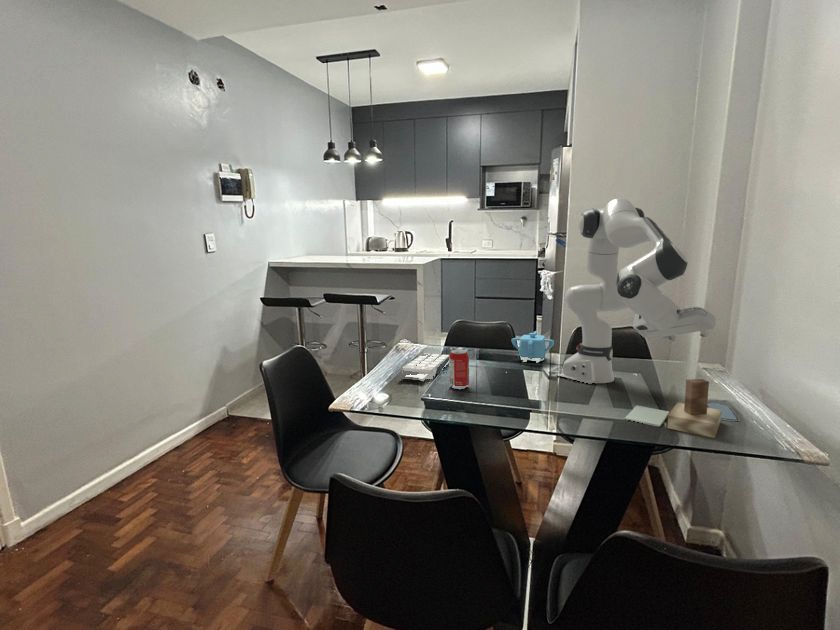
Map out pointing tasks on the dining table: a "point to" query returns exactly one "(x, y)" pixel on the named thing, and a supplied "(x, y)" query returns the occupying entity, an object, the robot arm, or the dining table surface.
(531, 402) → the dining table surface
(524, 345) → the teapot
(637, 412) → the rubber mat
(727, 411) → the smartphone
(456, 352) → the soda can
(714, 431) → the birch block
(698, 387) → the brown wooden upright block
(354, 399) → the dining table surface
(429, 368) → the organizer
